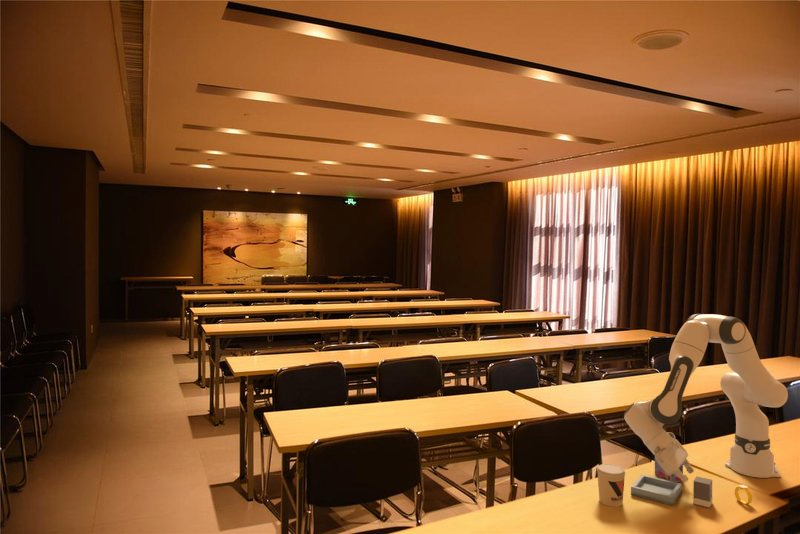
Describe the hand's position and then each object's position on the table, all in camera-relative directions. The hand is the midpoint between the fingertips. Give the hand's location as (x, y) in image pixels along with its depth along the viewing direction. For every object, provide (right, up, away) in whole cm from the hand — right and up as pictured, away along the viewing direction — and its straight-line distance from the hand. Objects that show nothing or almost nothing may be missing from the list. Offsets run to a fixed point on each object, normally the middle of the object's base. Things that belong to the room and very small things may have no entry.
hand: (689, 476), depth 193 cm
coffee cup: (-28, -9, 0) cm, 30 cm away
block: (+3, -9, -2) cm, 10 cm away
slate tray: (-9, -9, +6) cm, 14 cm away
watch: (+18, -9, -2) cm, 20 cm away
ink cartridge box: (+2, -8, +20) cm, 22 cm away
